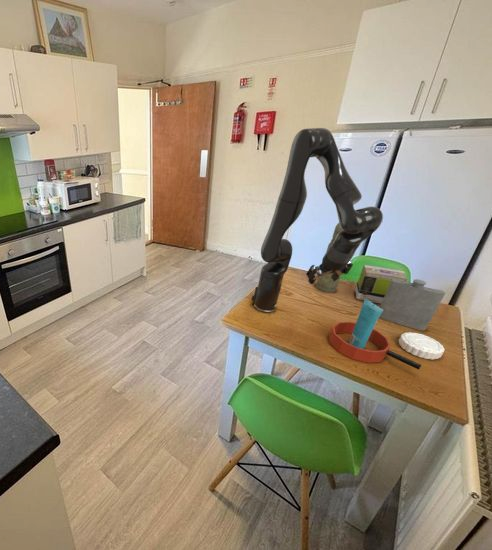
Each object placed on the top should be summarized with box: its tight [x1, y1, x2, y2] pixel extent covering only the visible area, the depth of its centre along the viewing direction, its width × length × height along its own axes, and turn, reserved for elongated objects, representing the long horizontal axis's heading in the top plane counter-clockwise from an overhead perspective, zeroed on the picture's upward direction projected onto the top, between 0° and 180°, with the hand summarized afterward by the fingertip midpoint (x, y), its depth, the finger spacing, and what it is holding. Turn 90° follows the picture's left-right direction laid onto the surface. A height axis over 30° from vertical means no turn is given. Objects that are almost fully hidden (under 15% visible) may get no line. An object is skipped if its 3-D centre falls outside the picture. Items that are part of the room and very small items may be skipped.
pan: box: [328, 321, 422, 370], centre depth 108 cm, size 26×17×5 cm, turn 34°
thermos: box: [315, 222, 342, 294], centre depth 143 cm, size 9×12×35 cm
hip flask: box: [379, 278, 446, 331], centre depth 120 cm, size 16×4×20 cm, turn 45°
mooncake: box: [398, 331, 446, 360], centre depth 110 cm, size 12×12×4 cm
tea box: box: [354, 264, 409, 305], centre depth 138 cm, size 15×10×15 cm, turn 59°
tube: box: [348, 299, 383, 349], centre depth 108 cm, size 7×5×19 cm, turn 12°
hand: (321, 280), depth 117 cm, fingers open, 8 cm apart
